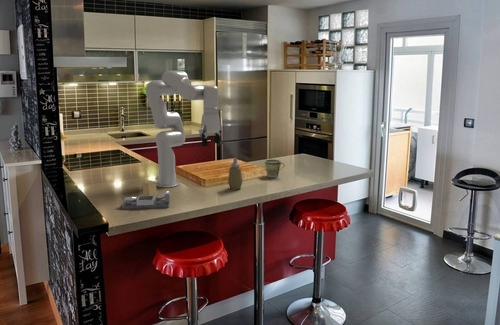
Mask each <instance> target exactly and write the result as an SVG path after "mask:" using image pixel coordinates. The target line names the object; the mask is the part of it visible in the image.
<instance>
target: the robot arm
mask: <svg viewBox="0 0 500 325" xmlns="http://www.w3.org/2000/svg"><path fill="white" fill-rule="evenodd" d="M176 94H178V95H179V96H180V97H181V98H183V99H185V100H188V101H203V107H202V108H203V113H202V116H201V120H200V121H201V122H200V129H199V130H198V133H199V136H200V138H201V146H202V147H208V143H209V141H208V136H209V135H212V134H214V138H213V142H214V144H218V145H219V144H220V143H221V133H222V131H223V126H222V125H221V122H220V120H221V119H220V115H219V114H220V113H219V88H218V86H217V85H216V86H215V85H207V84H193V85H192V84H191V82H190V79H189V76H188V74H187V73H186V72H185V71H184V70H167V71H165V72H164V73H163V74H162V76H161V80H159V79H158V80H157V79H156V80H152V81H149V82H148V83H147V84H146V86H145V95H146V100H147V101H148V103H149V105H150V109H151V114H152V115H151V116H152V118H153V119H152V120H153V122H154V125H155V127H156V128H157V129H159V130H161V131H160V132H158V133H157V134H156V136H155V144H156V148H157V157H158V158H157V159H158V160H157V161H158V166H157V167H158V175H157V176H156V177H155V180H156V187H159V188H174V187H177V186H178V185H179V181H177V180H176V156H175V152H174V150H173V149H172V148H173V147H180V146H183V145H184V144H185V142H186V134H185V131H184V130H185V129H184V124H183V121H182V118H181V115H180V113H178V112H176V111H168V109H167V105H166V102H165V101H164V100H163V98H161V96H174V95H176ZM166 129H169V130H166ZM170 129H171V130H170Z"/></svg>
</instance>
